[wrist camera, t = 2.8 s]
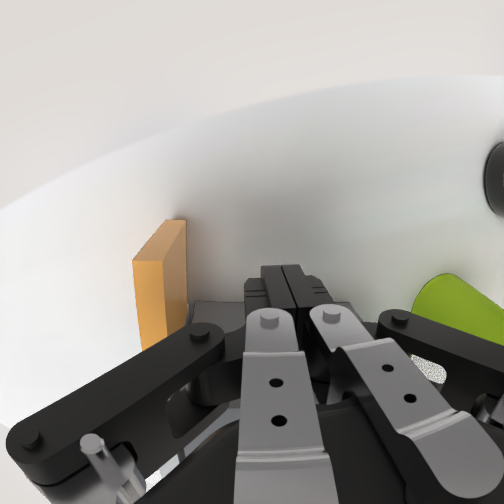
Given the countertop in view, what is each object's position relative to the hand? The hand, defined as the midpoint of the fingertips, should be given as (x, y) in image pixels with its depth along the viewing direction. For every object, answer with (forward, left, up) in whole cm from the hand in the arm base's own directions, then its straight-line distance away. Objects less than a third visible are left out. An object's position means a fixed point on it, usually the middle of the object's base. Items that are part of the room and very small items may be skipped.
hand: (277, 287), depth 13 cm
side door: (-9, +5, -8) cm, 13 cm away
